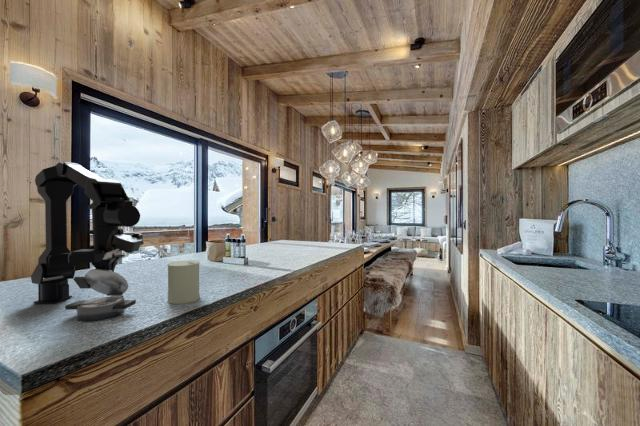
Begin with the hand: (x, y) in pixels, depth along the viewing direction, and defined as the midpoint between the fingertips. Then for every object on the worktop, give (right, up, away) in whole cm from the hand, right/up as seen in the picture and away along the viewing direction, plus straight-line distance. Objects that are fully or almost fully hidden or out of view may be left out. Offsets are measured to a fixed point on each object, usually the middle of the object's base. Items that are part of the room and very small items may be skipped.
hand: (107, 282), depth 78 cm
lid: (-1, 0, -1) cm, 1 cm away
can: (+16, -9, +11) cm, 21 cm away
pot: (0, -8, -2) cm, 9 cm away
